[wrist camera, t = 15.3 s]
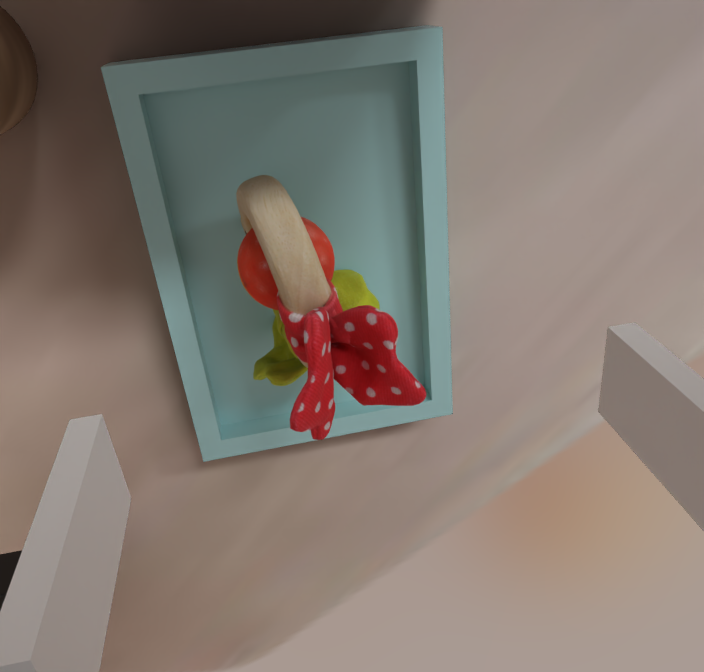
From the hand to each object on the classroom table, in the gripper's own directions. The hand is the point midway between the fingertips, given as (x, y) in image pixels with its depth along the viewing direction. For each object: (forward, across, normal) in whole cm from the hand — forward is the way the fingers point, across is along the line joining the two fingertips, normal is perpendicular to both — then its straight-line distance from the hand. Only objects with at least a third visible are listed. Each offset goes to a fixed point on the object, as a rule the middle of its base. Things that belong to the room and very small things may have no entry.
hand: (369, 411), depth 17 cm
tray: (+13, 0, 0) cm, 13 cm away
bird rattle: (+12, -1, 0) cm, 12 cm away
